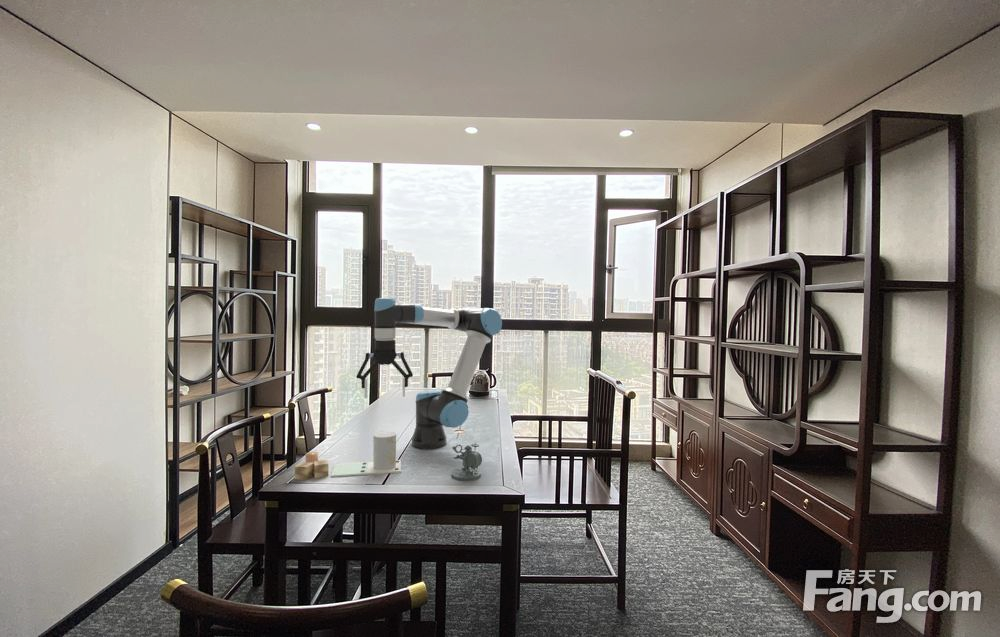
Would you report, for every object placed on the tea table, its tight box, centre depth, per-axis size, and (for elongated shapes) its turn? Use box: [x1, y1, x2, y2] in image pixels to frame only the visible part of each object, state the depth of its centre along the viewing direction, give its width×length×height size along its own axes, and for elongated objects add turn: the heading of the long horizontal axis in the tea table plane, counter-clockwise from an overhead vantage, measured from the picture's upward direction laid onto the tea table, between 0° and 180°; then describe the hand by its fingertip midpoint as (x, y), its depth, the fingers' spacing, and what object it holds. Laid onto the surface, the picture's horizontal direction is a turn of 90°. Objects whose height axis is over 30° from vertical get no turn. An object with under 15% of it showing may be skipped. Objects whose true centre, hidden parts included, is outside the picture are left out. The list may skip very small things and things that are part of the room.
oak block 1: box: [294, 461, 314, 481], centre depth 158 cm, size 4×4×4 cm
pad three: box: [330, 461, 370, 478], centre depth 166 cm, size 12×12×1 cm
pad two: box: [366, 459, 402, 476], centre depth 168 cm, size 12×12×1 cm
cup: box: [372, 430, 397, 470], centre depth 168 cm, size 8×8×12 cm
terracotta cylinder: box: [304, 451, 319, 463], centre depth 166 cm, size 4×4×6 cm
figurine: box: [451, 442, 483, 482], centre depth 161 cm, size 11×11×12 cm
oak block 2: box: [313, 459, 329, 479], centre depth 161 cm, size 4×4×4 cm
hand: (385, 396), depth 168 cm, fingers open, 13 cm apart
